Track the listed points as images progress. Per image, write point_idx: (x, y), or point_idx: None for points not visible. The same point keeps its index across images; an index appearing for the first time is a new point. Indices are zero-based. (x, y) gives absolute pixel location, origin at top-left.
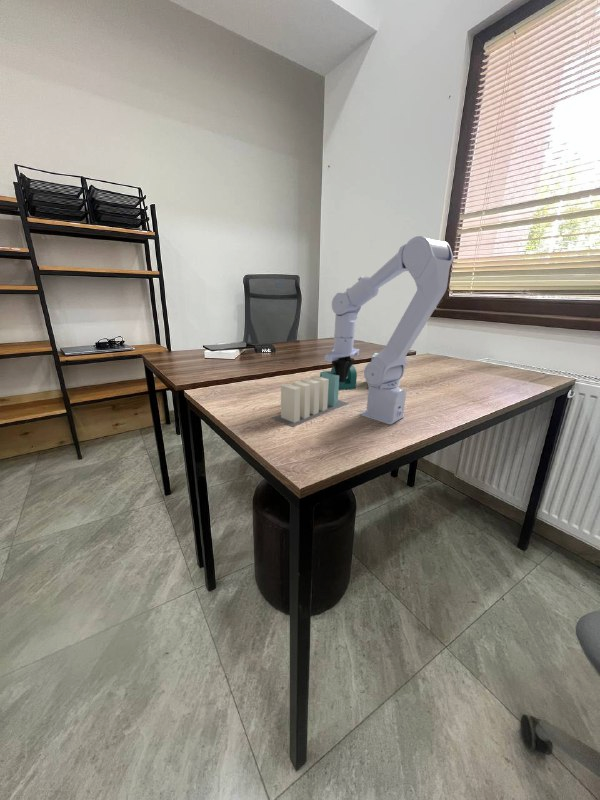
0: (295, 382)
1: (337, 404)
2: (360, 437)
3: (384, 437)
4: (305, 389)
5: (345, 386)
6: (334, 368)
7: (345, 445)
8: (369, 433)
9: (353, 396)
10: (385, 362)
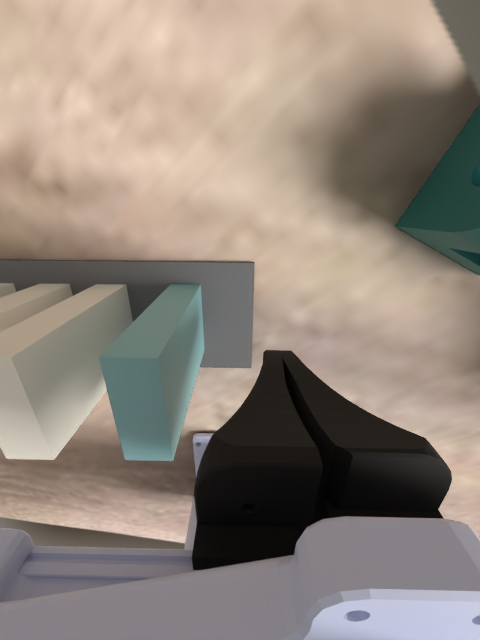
0: None
1: (203, 350)
2: (90, 484)
3: (136, 508)
4: None
5: (442, 248)
6: (246, 398)
7: (34, 481)
8: (124, 487)
9: (351, 330)
10: None
